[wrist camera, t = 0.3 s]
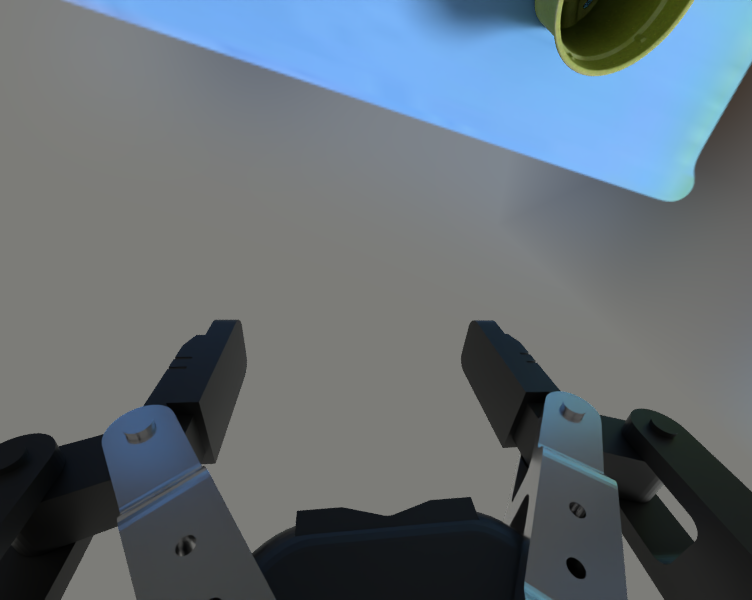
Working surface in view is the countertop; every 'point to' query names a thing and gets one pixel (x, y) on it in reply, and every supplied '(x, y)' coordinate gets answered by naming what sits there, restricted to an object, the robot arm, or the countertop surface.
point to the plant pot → (608, 30)
